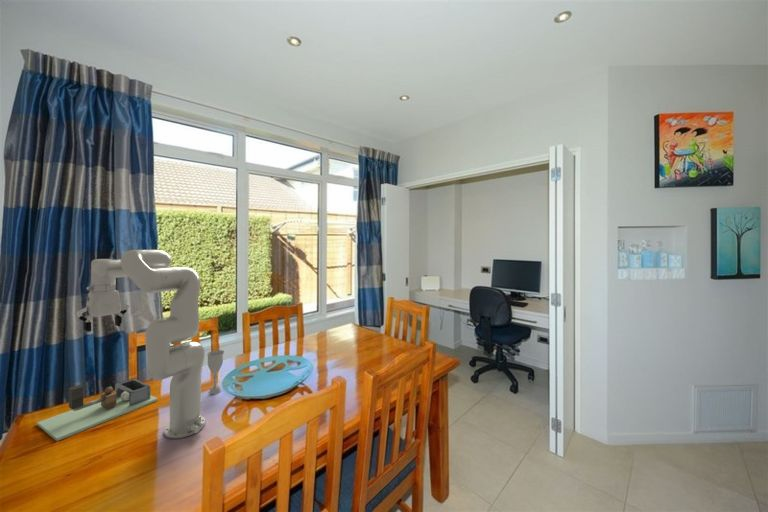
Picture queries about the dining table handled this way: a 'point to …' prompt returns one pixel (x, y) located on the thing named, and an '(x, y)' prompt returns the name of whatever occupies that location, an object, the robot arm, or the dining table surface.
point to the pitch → (87, 418)
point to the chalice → (215, 367)
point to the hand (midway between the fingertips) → (103, 328)
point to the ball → (125, 396)
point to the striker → (77, 401)
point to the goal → (133, 391)
